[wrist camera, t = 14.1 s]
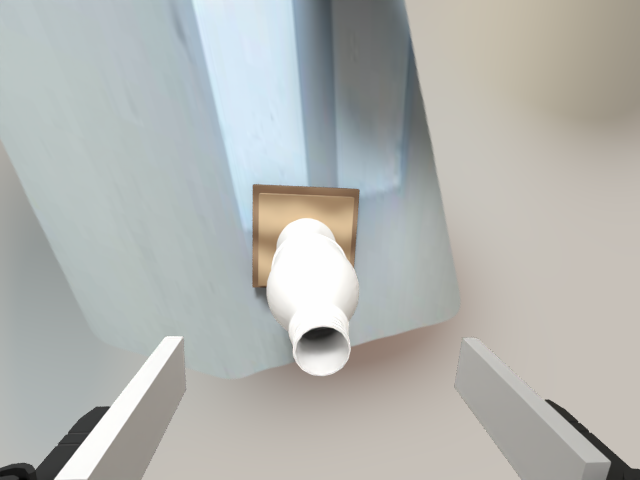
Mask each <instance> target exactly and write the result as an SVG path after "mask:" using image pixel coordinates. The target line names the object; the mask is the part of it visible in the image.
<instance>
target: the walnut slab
mask: <svg viewBox="0 0 640 480" xmlns="http://www.w3.org/2000/svg"><path fill="white" fill-rule="evenodd" d="M260 193H272V194H295V195H319V196H343V197H353V198H354V211H353V225H352V239H351V253H350V263H351V265H352V266H353V268H354V258H355V245H356V231H357V217H358V204H359V189H349V188H327V187H304V186H282V185H260V184H254V185H253V287H265V288H267V286H258V245H259V194H260Z"/></svg>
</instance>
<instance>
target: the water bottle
mask: <svg viewBox="0 0 640 480" xmlns="http://www.w3.org/2000/svg"><path fill="white" fill-rule="evenodd" d="M358 299H359V283H358V278H357V275H356V272H355V270H354V268H353V266H352V265H351V263H350V262H349V261H348V260H347V258H346V256H345V253H344V251H343V250H342V248H341V247H340V246H339V245H338V244H337V243H336V241H335V238H334V235H333V233H332V232H331V230H330V229H329V228H328V227H327V226H326V225H325V224H323V223H322V222H320V221H318V220H315V219H310V218H302V219H298V220H296V221H294V222H291V223H289V224H288V225H287V226H286V227H285V228H284V229H283V231H282V232H281V234H280V235H279V238H278V241H277V247H276V252H275V254H274V257H273V261H272V266H271V272H270V274H269V277H268V280H267V300H268V305H269V307H270V310H271V312H272V314H273V316H274V318H275V319H276V321H277V322H278V323H279V324H280V325H281V326H282V327H283V328H284V329H285V330H287V331H288V332H289V338H290V340H291V343H292V344H293V357H294V359H295V361H296V363H297V364H298V365H299V367H300V368H301V369H302V370H303V371H305V372H307V373H309V374H311V375H316V376H326V375H330V374H333V373H335V372H337V371H338V370H340V369H341V368H342V367H343V366H344V365H345V363H346V362H347V361H348V359H349V354H350V350H351V349H350V348H351V347H350V339H349V337H348V334H349V320H350V319H351V317H352V316H353V314H354V312H355V309H356V307H357V304H358Z"/></svg>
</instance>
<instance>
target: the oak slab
mask: <svg viewBox="0 0 640 480" xmlns="http://www.w3.org/2000/svg"><path fill="white" fill-rule="evenodd" d="M353 211H354V198H353V197H343V196H319V195H295V194H272V193H260V194H259V245H258V286H267V280H268V277H269V274H270V272H271V266H272V261H273V257H274V254H275V252H276V247H277V241H278V238H279V235H280V234H281V232H282V231H283V229H284V228H285V227H286V226H287V225H288V224H289V223H291V222H294V221H296V220H298V219H302V218H310V219H315V220H318V221H320V222H322V223H323V224H325V225H326V226H327V227H328V228H329V229H330V230H331V232H332V233H333V235H334V238H335V241H336V243H337V244H338V245H339V246H340V247H341V248H342V250H343V251H344V253H345V256H346V258H347V260H348V261H349V262H350V253H351V239H352V225H353Z"/></svg>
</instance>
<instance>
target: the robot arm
mask: <svg viewBox="0 0 640 480" xmlns="http://www.w3.org/2000/svg"><path fill="white" fill-rule="evenodd" d="M454 387H455V389H456V390H457V392H458V393H459V394H460V396H461V397H462V399H463V400H464V401H465V403H466V404H467V405H468V407H469V408H470V409H471V411H472V412H473V414H474V415H475V416H476V418H477V419H478V420H479V422H480V423H481V424H482V426H483V427H484V429H485V430H486V432H487V433H488V434H489V436H490V437H491V438H492V440H493V441H494V443H495V444H496V445H497V447H498V448H499V449H500V451H501V452H502V453H503V455H504V456H505V458H506V459H507V460H508V462H509V463H510V464H511V466H512V467H513V469H514V470H515V471H516V473H517V474H518V476H519V477H520V478H521V480H640V469H632V468H630V467H629V466H628V465H627V464H626V463H625V462H623V461H622V460H621V459H620V458H619V457H618V456H617V455H616V454H614V453H613V452H612V451H611V450H610V449H609V448H608V447H607V446H606V445H604V444H603V443H602V442H601V441H600V440H599V439H598V438H597V437H595V436H594V435H593V434H592V433H589V431H588V429H586V428H585V427H584V426H583V425H582V424H581V423H578V421H577V420H576V419H575V418H574V417H573V416H572V415H571V414H570V413H568V412H567V411H566V410H565V409H564V408H562V407H560V406H559V405H557V404H555V403H554V402H552V401H550V400H544V399H543V398H542V397H541V396H540V395H538V394H537V393H536V392H535V391H534V390H533V389H532V388H531V387H530V386H529V385H528V384H527V383H525V382H524V381H523V380H522V379H521V378H520V377H519V376H518V375H517V374H516V373H515V372H514V371H513V370H512V369H510V368H509V367H508V366H507V365H506V364H505V363H504V362H503V361H501V359H500V358H499V357H497V356H496V355H495V354H494V353H493V352H492V351H491V350H490V349H489V348H488V347H487V346H486V345H485V344H483V343H482V342H481V341H480V340H479V339H478V338H462V342H461V348H460V355H459V361H458V367H457V373H456V380H455V385H454ZM185 391H186V378H185V358H184V339H183V336H166V337H165V338H164V339H163V341H162V342H161V343H160V344H159V346H158V347H157V348H156V349H155V351H154V352H153V353H152V355H151V356H150V357H149V358H148V360H147V361H146V362H145V364H144V365H143V366H142V367H141V369H140V370H139V371H138V373H137V374H136V375H135V376H134V378H133V379H132V380H131V382H130V383H129V384H128V385H127V387H126V388H125V389H124V391H123V392H122V393H121V395H120V396H119V397H118V398H117V400H116V401H115V402H114V403H113V405H112V406H111V407H95V408H94V409H93V410H91V411H90V412H88V413H87V414H86V415H84V416H83V417H82V418H80V419H79V420H78V421H77V423H76V424H75V425H74V426H73V427H72V428H71V430H70V431H69V432H68V435H65V436H64V438H63V439H62V440H61V441H60V442H59V444H58V446H56V447H55V448H54V449H53V450H52V451H51V453H50V454H49V455H48V456H47V457H46V458H45V459H44V461H43V462H42V463H41V464H40V465H39V466H38V468H37V469H36V470H35V469H34V467H33V466H32V465H30V464H26V463H17V464H11V465H8V466H5V467H2V468H0V480H141V479H142V477H143V475H144V473H145V471H146V469H147V467H148V465H149V463H150V461H151V459H152V457H153V455H154V453H155V451H156V449H157V447H158V445H159V443H160V441H161V439H162V437H163V435H164V433H165V431H166V429H167V427H168V425H169V423H170V421H171V419H172V417H173V415H174V413H175V411H176V409H177V407H178V405H179V403H180V401H181V399H182V397H183V395H184V393H185Z"/></svg>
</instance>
